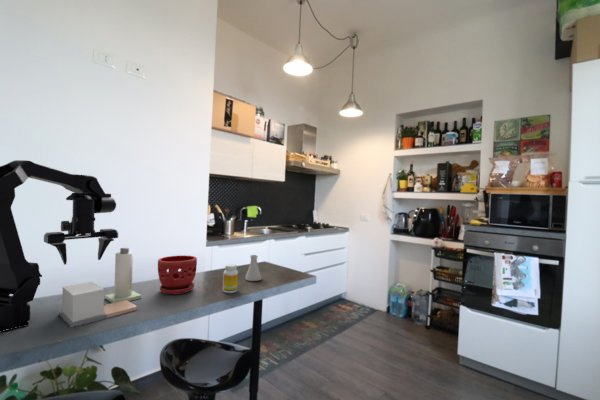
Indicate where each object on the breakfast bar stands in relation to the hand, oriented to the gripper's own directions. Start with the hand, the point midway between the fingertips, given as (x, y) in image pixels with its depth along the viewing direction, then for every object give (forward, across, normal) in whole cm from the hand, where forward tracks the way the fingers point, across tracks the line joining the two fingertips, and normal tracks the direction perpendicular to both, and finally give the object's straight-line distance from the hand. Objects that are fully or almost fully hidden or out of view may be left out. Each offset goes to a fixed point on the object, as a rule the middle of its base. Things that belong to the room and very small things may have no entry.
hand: (82, 261), depth 95 cm
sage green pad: (+12, -9, +9) cm, 17 cm away
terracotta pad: (+12, -4, +18) cm, 22 cm away
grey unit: (+12, +4, +16) cm, 20 cm away
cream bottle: (+11, -9, +9) cm, 17 cm away
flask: (+12, -54, +23) cm, 60 cm away
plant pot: (+12, -25, +14) cm, 31 cm away
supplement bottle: (+12, -38, +28) cm, 49 cm away
